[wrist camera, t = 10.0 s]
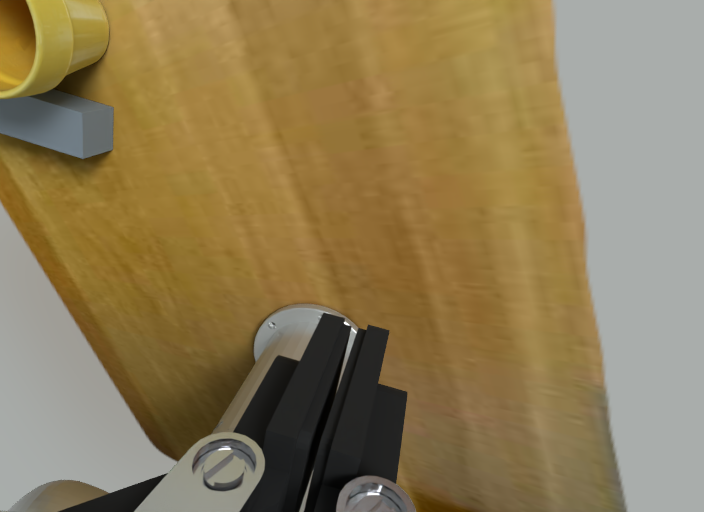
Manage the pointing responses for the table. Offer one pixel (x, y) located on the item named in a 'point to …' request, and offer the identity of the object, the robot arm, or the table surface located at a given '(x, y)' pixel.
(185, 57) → the table surface
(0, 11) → the plant pot
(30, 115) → the bar
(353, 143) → the table surface
